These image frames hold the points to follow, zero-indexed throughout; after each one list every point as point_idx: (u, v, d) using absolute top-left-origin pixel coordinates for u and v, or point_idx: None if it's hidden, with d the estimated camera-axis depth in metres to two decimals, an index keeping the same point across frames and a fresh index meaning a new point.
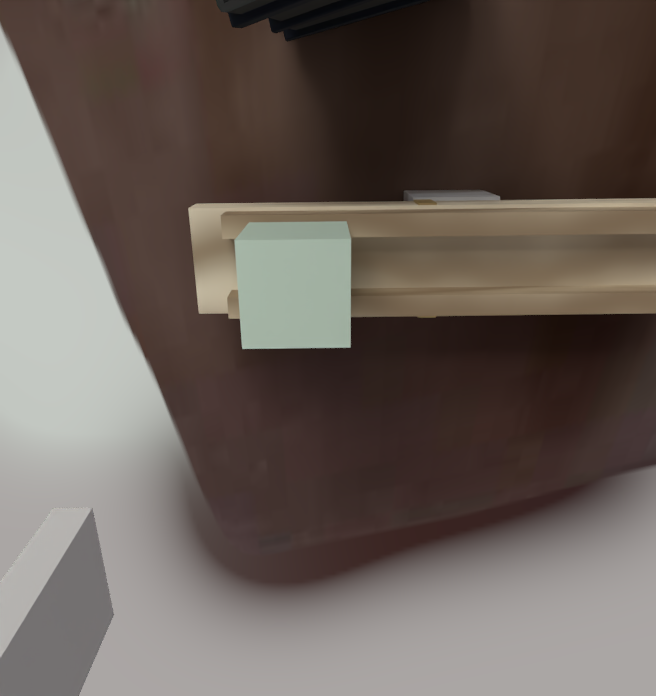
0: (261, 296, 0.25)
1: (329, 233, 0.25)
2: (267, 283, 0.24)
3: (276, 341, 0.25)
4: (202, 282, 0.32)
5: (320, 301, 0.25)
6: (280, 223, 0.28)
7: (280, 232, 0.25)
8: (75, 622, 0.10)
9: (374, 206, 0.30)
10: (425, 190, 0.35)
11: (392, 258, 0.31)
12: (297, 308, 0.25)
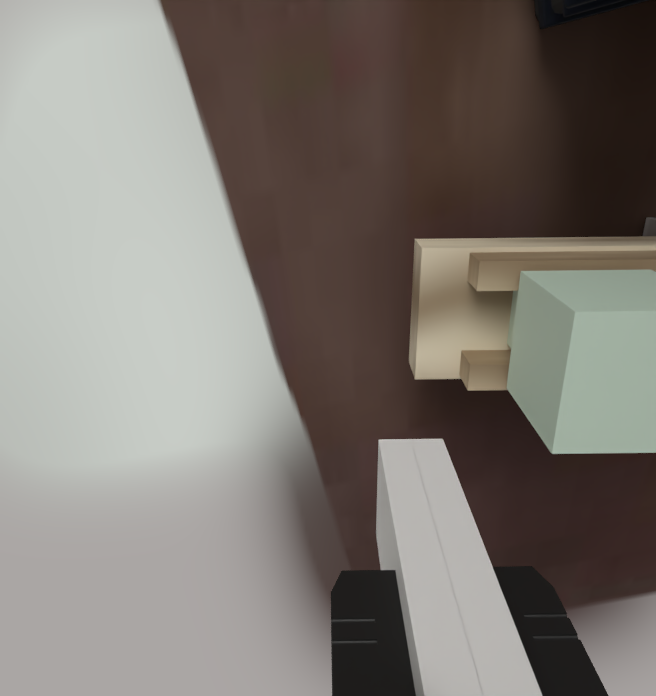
0: (595, 386, 0.18)
1: None
2: (608, 369, 0.17)
3: (601, 444, 0.18)
4: (425, 341, 0.25)
5: None
6: (569, 273, 0.21)
7: (608, 293, 0.18)
8: None
9: None
10: None
11: None
12: (641, 402, 0.18)
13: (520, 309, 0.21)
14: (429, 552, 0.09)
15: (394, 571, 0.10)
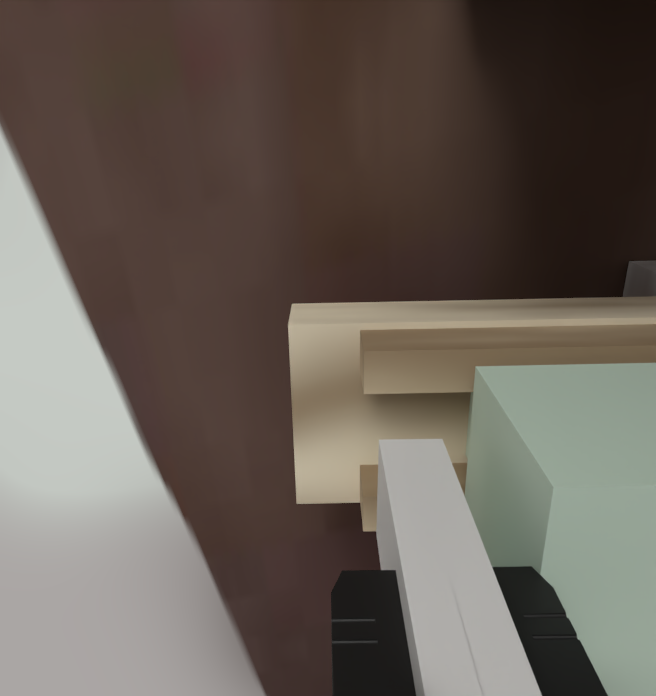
0: (593, 603, 0.10)
1: None
2: (615, 577, 0.10)
3: (605, 687, 0.11)
4: (306, 453, 0.17)
5: None
6: (550, 373, 0.13)
7: (613, 429, 0.11)
8: None
9: (650, 317, 0.15)
10: None
11: None
12: None
13: (475, 424, 0.14)
14: (429, 552, 0.09)
15: (394, 571, 0.10)
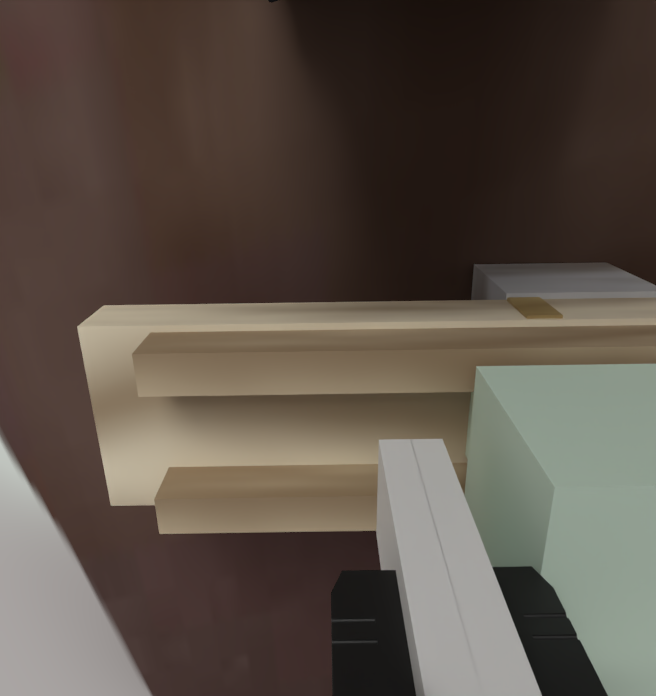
0: (593, 603, 0.10)
1: None
2: (615, 577, 0.10)
3: (603, 686, 0.11)
4: (113, 455, 0.17)
5: None
6: (551, 373, 0.13)
7: (614, 430, 0.11)
8: None
9: (440, 321, 0.15)
10: (511, 264, 0.21)
11: None
12: None
13: (476, 424, 0.14)
14: (429, 552, 0.09)
15: (394, 571, 0.10)
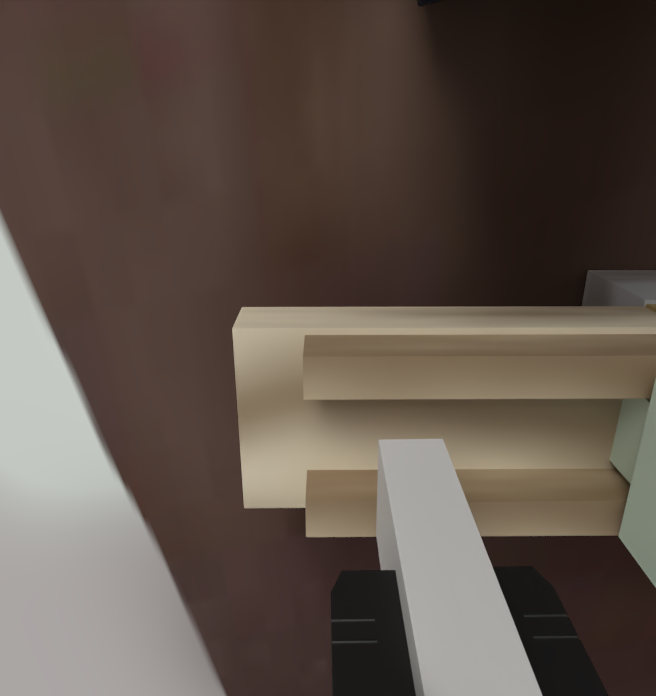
0: None
1: None
2: None
3: None
4: (252, 458, 0.17)
5: None
6: None
7: None
8: None
9: (595, 327, 0.15)
10: (625, 270, 0.21)
11: (614, 419, 0.16)
12: None
13: (654, 431, 0.14)
14: (429, 552, 0.09)
15: (394, 571, 0.10)
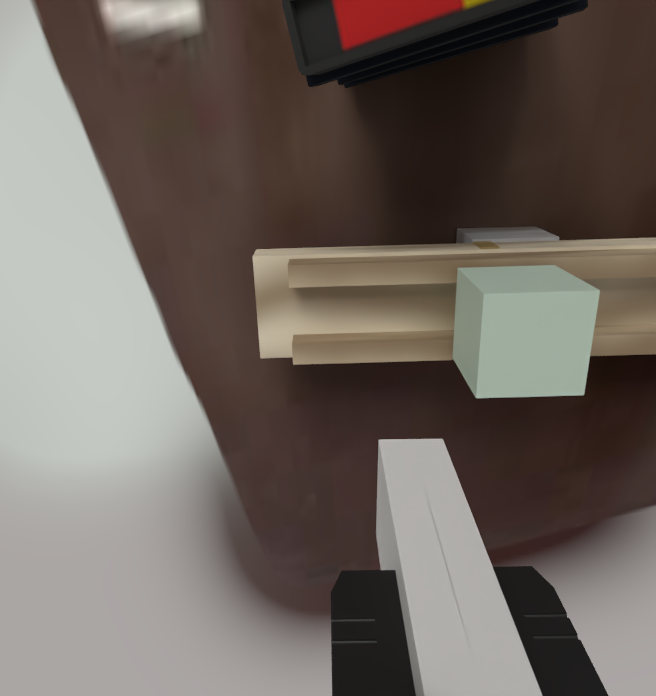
0: (503, 347, 0.25)
1: (565, 282, 0.25)
2: (510, 334, 0.25)
3: (511, 390, 0.26)
4: (264, 328, 0.32)
5: (560, 351, 0.25)
6: (492, 269, 0.28)
7: (513, 282, 0.26)
8: None
9: (437, 251, 0.30)
10: (478, 228, 0.36)
11: (454, 301, 0.31)
12: (536, 358, 0.25)
13: (457, 296, 0.29)
14: (429, 552, 0.09)
15: (394, 571, 0.10)
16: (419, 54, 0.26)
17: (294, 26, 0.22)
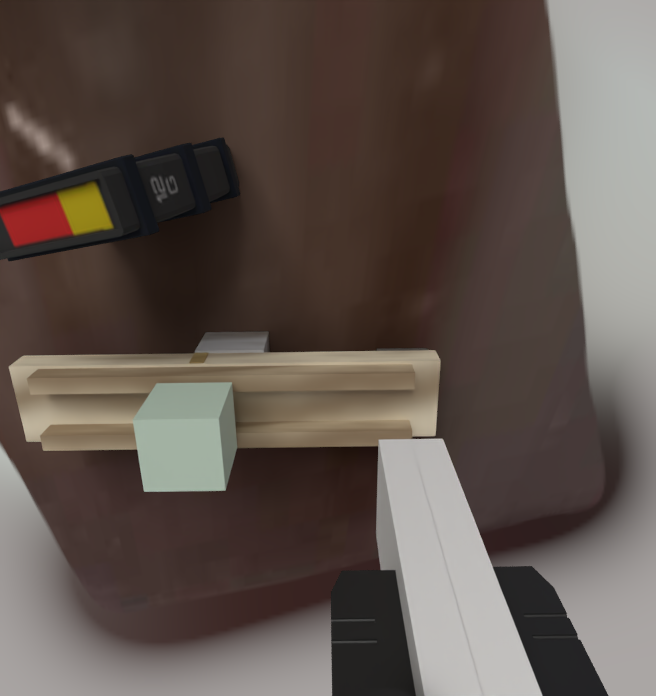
0: (155, 456, 0.33)
1: (207, 407, 0.34)
2: (159, 447, 0.33)
3: (169, 486, 0.34)
4: (26, 419, 0.40)
5: (200, 459, 0.33)
6: (179, 386, 0.36)
7: (172, 405, 0.34)
8: None
9: (154, 364, 0.39)
10: (222, 332, 0.44)
11: None
12: (183, 464, 0.33)
13: None
14: (429, 552, 0.09)
15: (394, 571, 0.10)
16: None
17: None
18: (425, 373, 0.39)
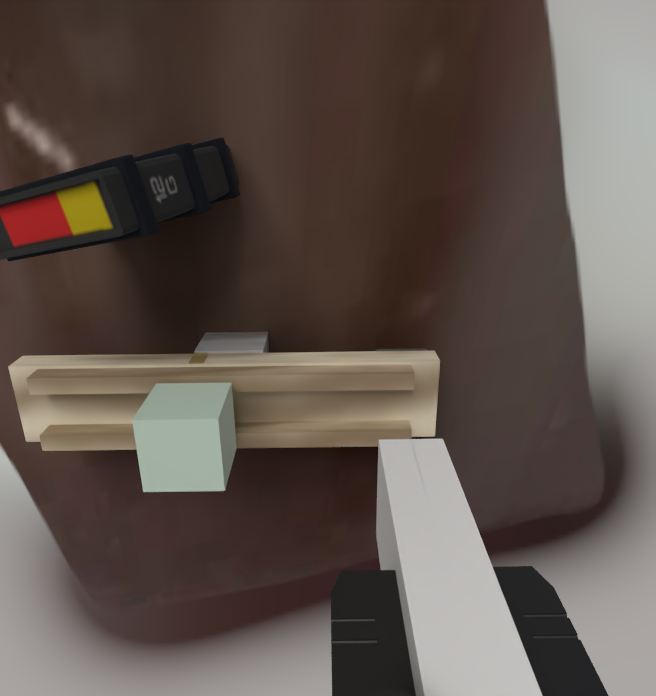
0: (155, 456, 0.33)
1: (207, 407, 0.34)
2: (159, 448, 0.33)
3: (168, 486, 0.34)
4: (26, 419, 0.40)
5: (199, 460, 0.33)
6: (179, 386, 0.36)
7: (171, 405, 0.34)
8: None
9: (154, 364, 0.39)
10: (222, 332, 0.44)
11: None
12: (182, 464, 0.33)
13: None
14: (429, 552, 0.09)
15: (394, 571, 0.10)
16: None
17: None
18: (424, 373, 0.39)
